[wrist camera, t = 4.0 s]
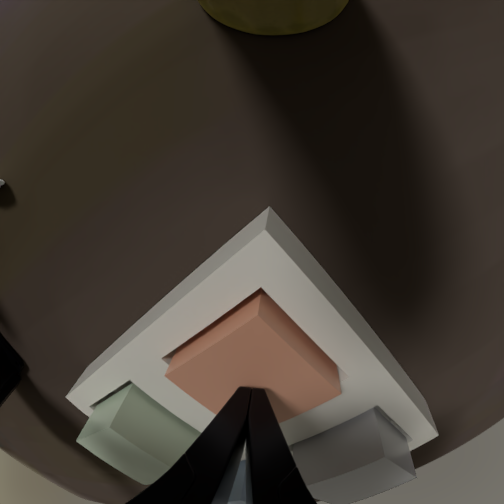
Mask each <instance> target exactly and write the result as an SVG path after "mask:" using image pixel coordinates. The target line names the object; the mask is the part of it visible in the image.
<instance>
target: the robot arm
mask: <svg viewBox="0 0 504 504" xmlns="http://www.w3.org/2000/svg"><path fill="white" fill-rule="evenodd" d="M23 366H24V364H23V362H22V360H21V359H20V358H19V357H18V356H17V355H16V353H15V352H14V351H13V350H12V349H11V348H10V346H9V345H8V344H7V343H6V342H5V340H4V339H3V338H2V337H1V335H0V407H1V406H2V404H3V403H4V402H5V401H6V399H7V398H8V397H9V396H10V395H11V393H12V392H13V391H14V390H15V389H16V387H17V386H18V384H19V382H20V380H21V376H20V375H19V374H20V372H21V370H22V368H23ZM245 442H246V448H245V458H246V504H317V503H316V501H315V500H314V498H313V496H312V495H311V493H310V491H309V490H308V488H307V486H306V484H305V482H304V480H303V478H302V476H301V474H300V472H299V469H298V467H296V466H297V465H296V463H295V460H294V458H293V456H292V453H291V451H290V449H289V446H288V444H287V442H286V439H285V437H284V435H283V432H282V430H281V427H280V425H279V423H278V420H277V418H276V415H275V413H274V410H273V408H272V406H271V403H270V401H269V398H268V396H267V393H266V391H265V389H263V388H251V387H245V386H240V387H238V388H237V390H236V391H235V392H234V394H233V395H232V396H231V397H230V399H229V400H228V401H227V402H226V404H225V405H224V406H223V407H222V409H221V410H220V411H219V412H218V414H217V415H216V416H215V417H214V418H213V420H212V421H211V422H210V423H209V425H208V426H207V427H206V428H205V429H204V431H203V432H202V433H201V434H200V435H199V436H198V438H197V439H196V440H195V441H194V442H193V443H192V445H191V446H190V447H189V448H188V449H187V450H186V452H185V454H183V455H182V456H181V457H180V458H179V459H178V460H177V461H176V463H175V464H174V465H173V466H172V467H171V468H170V469H169V470H168V471H167V472H165V473H164V474H163V475H162V476H161V477H160V478H159V479H157V480H156V481H155V482H154V483H152V484H151V485H150V486H149V487H147V488H146V489H145V490H143V491H142V492H141V493H139V494H138V495H137V496H135V497H134V498H133V499H131V500H130V501H128V502H127V503H125V504H227V503H228V500H229V497H230V494H231V491H232V488H233V484H234V481H235V478H236V475H237V471H238V468H239V465H240V461H241V458H242V454H243V451H244V447H245Z"/></svg>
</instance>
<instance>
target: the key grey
mask: <svg viewBox="0 0 504 504" xmlns="http://www.w3.org/2000/svg"><path fill="white" fill-rule="evenodd" d="M293 458H294V460H295V463H296V465H297V466H296V467H298V469H299V472H300V474H301V476H302V478H303V480H304V482H305V484H306V486H307V488H308V490H309V491H310V493H311V495H312V496H313V498H315V499H318V500H321V501H324V502H327V503H331V504H350V503H353V502H357V501H360V500H363V499H365V498H368V497H371V496H374V495H377V494H379V493H382V492H385V491H387V490H390V489H392V488H394V487H397V486H399V485H401V484H404V483H406V482H408V481H411V480H413V479H415V478H417V477H416V473H415V469H414V465H413V461H412V457H411V453H410V450H409V446H408V443H407V439H406V437H405V436H404V435H403V434H402V433H401V432H400V431H399V430H398V429H397V428H396V427H395V426H394V425H393V424H392V423H391V422H389V421H388V420H387V419H386V418H385V417H384V416H383V415H382V414H381V413H380V412H379V411H378V410H377V409H376V408H375V407H373V408H371V409H369V410H367V411H365V412H364V413H362V414H360V415H358V416H356V417H354V418H352V419H350V420H348V421H345V422H343V423H341V424H339V425H337V426H335V427H333V428H330V429H328V430H326V431H324V432H321V433H319V434H317V435H314V436H312V437H309V438H307V439H304V440H302V441H299V442H297V443H294V444H293Z"/></svg>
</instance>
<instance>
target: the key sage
mask: <svg viewBox="0 0 504 504" xmlns="http://www.w3.org/2000/svg"><path fill="white" fill-rule="evenodd" d="M200 434H201V432H199V431H198V430H196V429H195V428H193V427H192V426H190V425H189V424H187V423H186V422H184V421H183V420H181V419H180V418H179V417H177V416H176V415H174V414H173V413H171V412H170V411H169V410H167V409H166V408H165V407H163V406H162V405H161V404H159V403H158V402H157V401H155V400H154V399H153V398H151V397H150V396H149V395H147V394H146V393H145V392H144V391H142V390H141V389H140V388H139V387H137V386H136V385H135V384H134V383H131V384H130V385H128V386H127V387H125V388H124V389H122V390H121V391H119V392H117V393H116V394H114V395H113V396H111V397H109V398H108V399H106V400H105V401H103V402H102V403H100V404H98V405H97V406H96V408H95V410H94V411H93V413H92V414H91V416H90V418H89V419H88V421H87V423H86V424H85V426H84V428H83V430H82V431H81V433H80V435H79V436H78V438H77V440H76V441H77V442H78V443H79V444H81V445H82V446H83V447H85V448H86V449H87V450H89V451H90V452H92V453H93V454H95V455H96V456H97V457H99V458H100V459H102V460H103V461H105V462H106V463H108V464H109V465H111V466H113V467H114V468H116V469H117V470H119V471H121V472H122V473H124V474H126V475H127V476H129V477H131V478H132V479H134V480H136V481H138V482H139V483H141V484H143V485H146V484H152V483H154V482H155V481H156V480H157V479H159V478H160V477H161V476H162V475H163V474H164V473H165V472H167V471H168V470H169V469H170V468H171V467H172V466H173V465H174V464H175V463H176V461H177V460H178V459H179V458H180V457H181V456H182V455H183V454H185V452H186V450H187V449H188V448H189V447H190V446H191V445H192V443H193V442H194V441H195V440H196V439H197V438H198V436H199V435H200Z"/></svg>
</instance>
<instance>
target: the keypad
mask: <svg viewBox="0 0 504 504" xmlns="http://www.w3.org/2000/svg"><path fill="white" fill-rule="evenodd" d="M260 287H261V288H262V289H263V290H264V291H265V292H266V293H267V294H268V295H269V296H270V297H271V298H272V299H273V300H274V301H275V302H276V303H277V304H278V305H279V306H280V307H281V308H282V309H283V310H284V311H285V312H286V313H287V315H288V316H289V317H290V318H291V319H292V320H293V321H294V322H295V323H296V324H297V325H298V326H299V327H300V328H301V329H302V330H303V331H304V332H305V333H306V334H307V335H308V336H309V337H310V338H311V339H312V340H313V341H314V342H315V343H316V344H317V345H318V346H319V347H320V348H321V349H322V350H323V351H324V352H325V353H326V354H327V355H328V356H329V357H330V358H331V359H332V360H333V361H334V362H335V363H336V365H337V371H338V376H339V382H340V388H341V393H342V394H340V395H338V396H337V397H335V398H333V399H331V400H329V401H327V402H325V403H323V404H321V405H319V406H317V407H315V408H313V409H310V410H308V411H306V412H304V413H302V414H300V415H298V416H295V417H293V418H291V419H288V420H286V421H284V422H281V423H279V425H280V427H281V430H282V432H283V435H284V437H285V439H286V442H287V444H288V446H289V449H290V451H291V453H292V456H293V444H294V443H297V442H299V441H302V440H304V439H307V438H309V437H312V436H314V435H317V434H319V433H321V432H324V431H326V430H328V429H330V428H333V427H335V426H337V425H339V424H341V423H343V422H345V421H348V420H350V419H352V418H354V417H356V416H358V415H360V414H362V413H364V412H365V411H367V410H369V409H371V408H373V407H375V408H376V409H377V410H378V411H379V412H380V413H381V414H382V415H383V416H384V417H385V418H386V419H387V420H388V421H389V422H391V423H392V424H393V425H394V426H395V427H396V428H397V429H398V430H399V431H400V432H401V433H402V434H403V435H404V436H405V437H406V439H407V443H408V446H409V450H410V451H411V450H413V449H415V448H417V447H419V446H421V445H423V444H425V443H426V442H428V441H430V440H432V439H433V438H435V437H437V436H439V434H438V431H437V429H436V426H435V423H434V421H433V418H432V416H431V413H430V410H429V408H428V405H427V403H426V401H425V399H424V397H423V396H422V395H421V393H420V392H419V390H418V389H417V388H416V386H415V385H414V384H413V382H412V381H411V379H410V378H409V377H408V375H407V374H406V373H405V371H404V370H403V369H402V367H401V366H400V365H399V363H398V362H397V361H396V359H395V358H394V357H393V355H392V354H391V353H390V351H389V350H388V349H387V348H386V346H385V345H384V344H383V342H382V341H381V340H380V338H379V337H378V336H377V335H376V333H375V332H374V331H373V329H372V328H371V327H370V326H369V324H368V323H367V322H366V321H365V319H364V318H363V317H362V316H361V314H360V313H359V312H358V311H357V309H356V308H355V307H354V306H353V304H352V303H351V302H350V301H349V299H348V298H347V297H346V296H345V294H344V293H343V292H342V291H341V289H340V288H339V287H338V286H337V285H336V283H335V282H334V281H333V280H332V279H331V277H330V276H329V275H328V274H327V272H326V271H325V270H324V269H323V268H322V266H321V265H320V264H319V263H318V262H317V261H316V259H315V258H314V257H313V256H312V255H311V253H310V252H309V251H308V250H307V249H306V248H305V246H304V245H303V244H302V243H301V242H300V241H299V239H298V238H297V237H296V236H295V235H294V234H293V232H292V231H291V230H290V229H289V228H288V227H287V225H286V224H285V223H284V222H283V221H282V220H281V219H280V217H279V216H278V215H277V214H276V213H275V212H274V211H273V210H272V208H271V207H270V206H269V207H268V208H267V209H266V210H265V211H263V212H262V213H261V214H260V215H259V216H257V217H256V218H255V219H254V220H253V221H251V222H250V223H249V224H248V225H247V226H246V227H244V228H243V229H242V230H241V231H240V232H239V233H237V234H236V235H235V236H234V237H233V238H231V239H230V240H229V241H228V242H227V243H226V244H224V245H223V246H222V247H221V248H220V249H219V250H218V251H216V252H215V253H214V254H213V255H212V256H211V257H209V258H208V259H207V260H206V261H205V262H204V263H202V264H201V265H200V266H199V267H198V268H197V269H196V270H194V271H193V272H192V273H191V274H190V275H189V276H188V277H186V278H185V279H184V280H183V281H182V282H181V283H180V284H178V285H177V286H176V287H175V288H174V289H173V290H172V291H171V292H169V293H168V294H167V295H166V296H165V297H164V298H163V299H162V300H160V301H159V302H158V303H157V304H156V305H155V306H154V307H153V308H151V309H150V310H149V311H148V312H147V313H146V314H145V315H144V316H143V317H141V318H140V319H139V320H138V321H137V322H136V323H135V324H134V325H133V326H131V327H130V328H129V329H128V330H127V331H126V332H125V333H124V334H123V335H122V336H120V337H119V338H118V339H117V340H116V341H115V342H114V343H113V344H112V345H111V346H110V347H108V348H107V349H106V350H105V351H104V352H103V353H102V354H101V355H100V356H99V357H98V358H97V359H95V360H94V361H93V362H92V363H91V364H90V365H89V366H88V367H87V368H86V370H85V371H84V372H83V374H82V375H81V377H80V378H79V379H78V381H77V382H76V383H75V385H74V386H73V387H72V389H71V390H70V392H69V393H68V394H67V396H66V398H67V399H68V400H69V401H70V402H72V403H73V404H74V405H75V406H76V407H77V408H79V409H80V410H81V411H82V412H83V413H85V414H86V415H87V416H88V417H89V418H90V416H91V414H92V413H93V411H94V410H95V408H96V406H97V405H98V404H100V403H102V402H103V401H105V400H106V399H108V398H109V397H111V396H113V395H114V394H116V393H117V392H119V391H121V390H122V389H124V388H125V387H127V386H128V385H130V384H131V383H134V384H135V385H136V386H137V387H139V388H140V389H141V390H142V391H144V392H145V393H146V394H147V395H149V396H150V397H151V398H153V399H154V400H155V401H157V402H158V403H159V404H161V405H162V406H163V407H165V408H166V409H167V410H169V411H170V412H171V413H173V414H174V415H176V416H177V417H179V418H180V419H181V420H183V421H184V422H186V423H187V424H189V425H190V426H192V427H193V428H195V429H196V430H198V431H199V432H201V433H202V432H203V431H204V429H205V428H206V427H207V426H208V425H209V423H210V422H211V421H212V420H213V418H214V417H215V416H216V414H214V413H213V412H211V411H210V410H208V409H207V408H206V407H204V406H203V405H201V404H200V403H199V402H197V401H196V400H195V399H193V398H192V397H191V396H189V395H188V394H187V393H185V392H184V391H183V390H181V389H180V388H179V387H178V386H176V385H175V384H174V383H173V382H171V381H170V380H169V379H168V378H166V377H165V376H164V375H165V373H166V371H167V369H168V367H169V365H170V362H171V360H172V358H173V356H174V354H175V352H176V350H177V348H178V346H180V345H181V344H183V343H184V342H186V341H187V340H188V339H190V338H191V337H193V336H194V335H196V334H197V333H198V332H200V331H201V330H203V329H204V328H205V327H207V326H208V325H210V324H211V323H212V322H214V321H215V320H217V319H218V318H219V317H221V316H222V315H223V314H225V313H226V312H228V311H229V310H230V309H232V308H233V307H235V306H236V305H237V304H239V303H240V302H241V301H243V300H244V299H245V298H247V297H248V296H250V295H251V294H252V293H254V292H255V291H256V290H258V289H259V288H260ZM245 448H246V442H245V447H244V451H243V454H242V458H241V461H242V460H246V458H245Z"/></svg>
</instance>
